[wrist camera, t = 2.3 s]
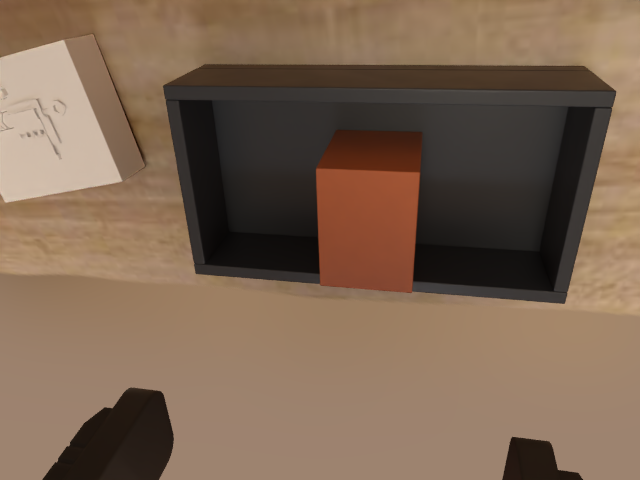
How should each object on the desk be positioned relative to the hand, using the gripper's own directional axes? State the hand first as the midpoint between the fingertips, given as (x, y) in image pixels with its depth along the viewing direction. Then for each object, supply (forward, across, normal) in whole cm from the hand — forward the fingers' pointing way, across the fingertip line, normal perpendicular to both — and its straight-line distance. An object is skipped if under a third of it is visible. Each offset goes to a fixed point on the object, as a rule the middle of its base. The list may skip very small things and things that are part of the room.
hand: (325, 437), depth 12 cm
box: (+17, +21, -9) cm, 28 cm away
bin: (+16, 0, -1) cm, 17 cm away
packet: (+15, 0, 0) cm, 16 cm away
